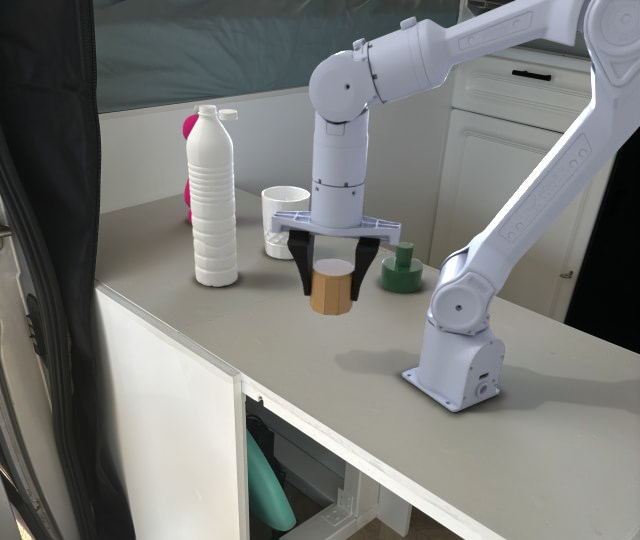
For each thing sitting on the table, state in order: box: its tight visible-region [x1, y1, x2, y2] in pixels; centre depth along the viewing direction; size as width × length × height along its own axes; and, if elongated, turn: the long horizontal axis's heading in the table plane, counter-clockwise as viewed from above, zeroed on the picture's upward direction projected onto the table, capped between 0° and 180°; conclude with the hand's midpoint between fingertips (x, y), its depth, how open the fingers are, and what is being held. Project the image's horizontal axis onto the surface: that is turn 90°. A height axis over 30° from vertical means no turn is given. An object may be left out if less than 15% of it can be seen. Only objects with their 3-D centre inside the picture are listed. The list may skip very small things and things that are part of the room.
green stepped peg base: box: [379, 241, 424, 294], centre depth 102 cm, size 6×6×6 cm
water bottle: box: [185, 104, 239, 288], centre depth 95 cm, size 9×6×25 cm
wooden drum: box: [309, 258, 355, 316], centre depth 78 cm, size 5×5×5 cm
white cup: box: [261, 185, 311, 260], centre depth 110 cm, size 8×8×10 cm
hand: (331, 295), depth 79 cm, fingers closed on wooden drum, 5 cm apart
